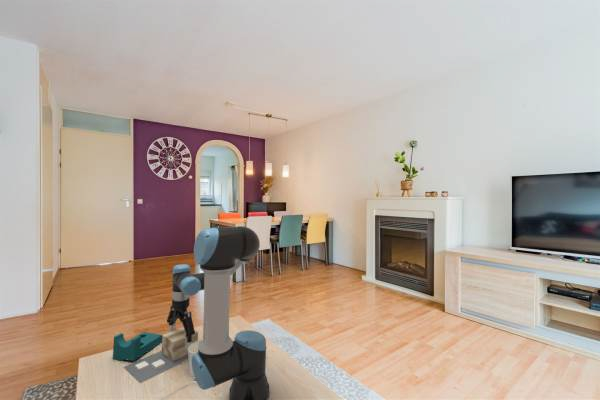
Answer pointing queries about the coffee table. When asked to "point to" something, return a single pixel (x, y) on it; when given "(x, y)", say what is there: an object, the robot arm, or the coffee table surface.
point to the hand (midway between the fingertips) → (179, 343)
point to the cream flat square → (158, 364)
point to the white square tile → (142, 366)
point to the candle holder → (191, 351)
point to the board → (151, 371)
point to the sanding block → (176, 344)
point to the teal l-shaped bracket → (134, 346)
